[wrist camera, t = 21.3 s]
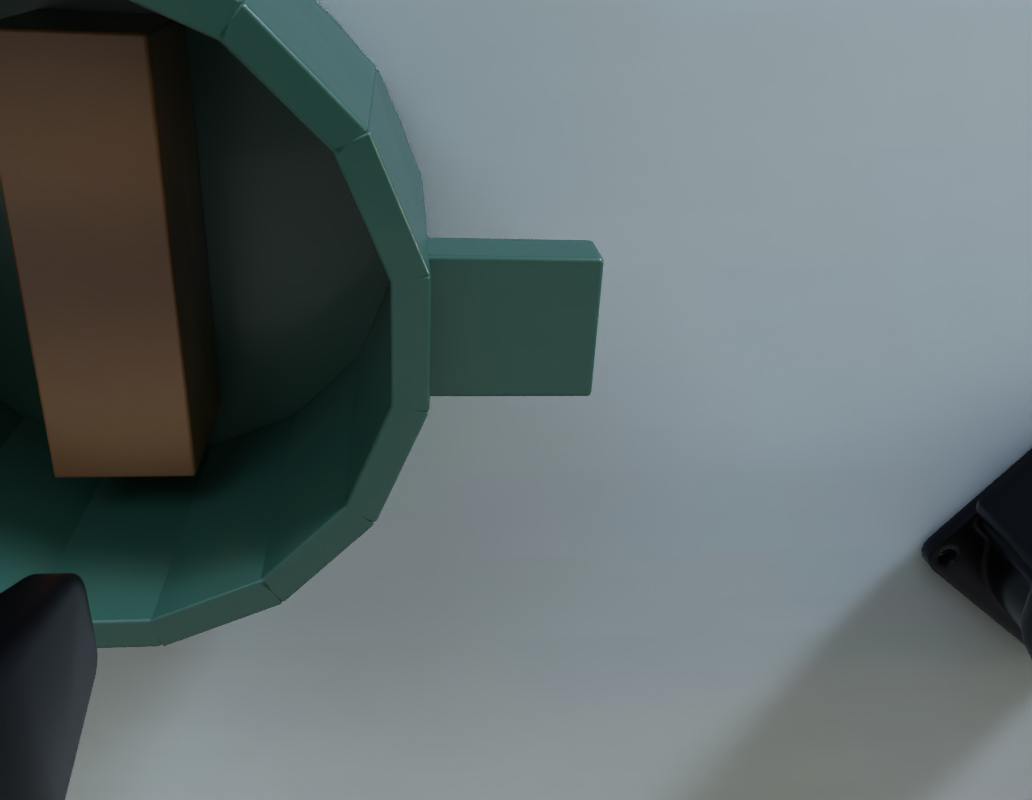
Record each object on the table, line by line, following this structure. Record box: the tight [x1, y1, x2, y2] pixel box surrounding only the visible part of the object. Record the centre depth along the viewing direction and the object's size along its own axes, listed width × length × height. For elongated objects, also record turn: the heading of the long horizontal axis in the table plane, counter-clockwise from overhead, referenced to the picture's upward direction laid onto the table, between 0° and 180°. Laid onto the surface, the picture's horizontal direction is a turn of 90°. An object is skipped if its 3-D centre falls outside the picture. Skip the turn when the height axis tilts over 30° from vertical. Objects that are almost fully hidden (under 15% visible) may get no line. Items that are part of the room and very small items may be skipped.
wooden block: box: [0, 9, 221, 478], centre depth 18 cm, size 8×3×3 cm, turn 177°
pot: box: [0, 0, 604, 648], centre depth 17 cm, size 11×17×6 cm
